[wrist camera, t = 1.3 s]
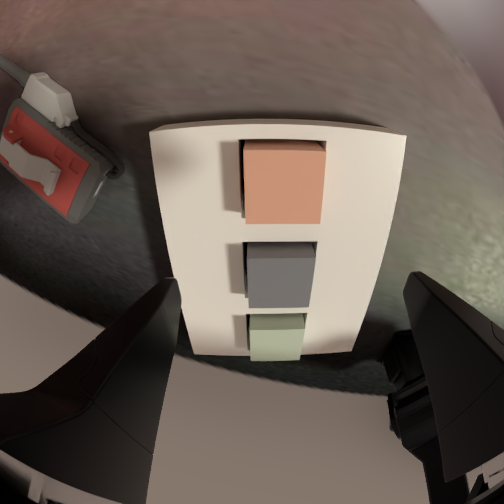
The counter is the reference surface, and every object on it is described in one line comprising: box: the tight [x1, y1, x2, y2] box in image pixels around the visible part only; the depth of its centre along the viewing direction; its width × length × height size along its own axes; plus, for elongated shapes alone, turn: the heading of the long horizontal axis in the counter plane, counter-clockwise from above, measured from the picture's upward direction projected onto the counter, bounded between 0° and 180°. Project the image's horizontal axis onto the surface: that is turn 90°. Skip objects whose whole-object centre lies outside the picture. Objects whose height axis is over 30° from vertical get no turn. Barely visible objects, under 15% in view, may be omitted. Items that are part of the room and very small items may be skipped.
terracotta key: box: [243, 139, 326, 224], centre depth 17 cm, size 4×4×4 cm
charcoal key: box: [247, 241, 316, 308], centre depth 21 cm, size 4×4×4 cm
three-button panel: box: [149, 119, 406, 356], centre depth 22 cm, size 16×21×3 cm
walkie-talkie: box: [0, 54, 125, 224], centre depth 15 cm, size 9×4×20 cm
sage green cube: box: [250, 313, 305, 361], centre depth 25 cm, size 4×4×4 cm
